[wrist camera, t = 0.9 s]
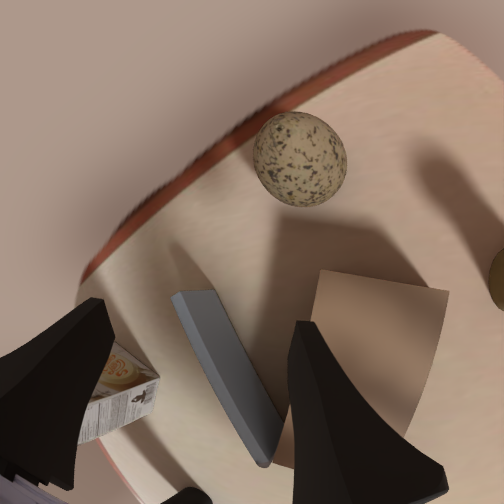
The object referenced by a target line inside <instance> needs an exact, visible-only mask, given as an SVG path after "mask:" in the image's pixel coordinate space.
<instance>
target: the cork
mask: <svg viewBox="0 0 504 504" xmlns="http://www.w3.org/2000/svg"><path fill="white" fill-rule="evenodd" d="M489 288H490V293H491V296H492V299H493V301H494V303H495V304H496V305H497V307H498V308H499V309H501V310H502V311H504V249H503V250H502V251H500V252H499V253H498V254H497V256H496V257H495V259H494V260H493V263H492V266H491V269H490V275H489Z"/></svg>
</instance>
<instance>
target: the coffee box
mask: <svg viewBox="0 0 504 504" xmlns="http://www.w3.org/2000/svg"><path fill="white" fill-rule="evenodd" d="M159 379H160V377H159V376H158V375H157V374H156V373H154V372H153V371H152V370H150V369H149V368H147V367H146V366H145V365H144V364H142V363H141V362H140V361H138V360H137V359H136V358H134V357H133V356H132V355H131V354H129V353H128V352H127V351H126V350H124V349H123V348H122V347H121V346H119V345H118V344H117V343H116V342H115V341H114V343H113V346H112V350H111V353H110V355H109V358H108V361H107V363H106V365H105V367H104V370H103V372H102V374H101V376H100V378H99V380H98V383H97V385H96V387H95V389H94V391H93V394H92V396H91V398H90V401H89V403H88V406H87V408H86V411H85V415H84V419H83V422H82V426H81V430H80V435H79V440H78V445H77V446H79V445H81V444H84V443H86V442H89V441H91V440H93V439H96V438H98V437H100V436H103V435H105V434H107V433H109V432H112V431H114V430H116V429H118V428H120V427H123V426H125V425H127V424H129V423H131V422H133V421H135V420H137V419H139V418H141V417H144V416H146V415H148V414H150V413H151V412H152V410H153V406H154V401H155V397H156V392H157V388H158V384H159Z"/></svg>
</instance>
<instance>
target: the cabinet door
mask: <svg viewBox="0 0 504 504" xmlns="http://www.w3.org/2000/svg"><path fill="white" fill-rule="evenodd" d="M170 298H171V301H172V303H173V305H174V308H175V310H176V312H177V315H178V317H179V319H180V322H181V324H182V326H183V328H184V330H185V333H186V335H187V337H188V339H189V341H190V343H191V346H192V348H193V350H194V352H195V354H196V356H197V358H198V360H199V362H200V364H201V366H202V368H203V370H204V372H205V374H206V376H207V378H208V380H209V382H210V384H211V386H212V388H213V390H214V392H215V394H216V395H217V397H218V399H219V401H220V403H221V405H222V406H223V408H224V410H225V412H226V414H227V415H228V417H229V419H230V421H231V423H232V424H233V426H234V428H235V429H236V431H237V433H238V435H239V436H240V438H241V440H242V441H243V443H244V445H245V446H246V448H247V450H248V451H249V453H250V454H251V456H252V458H253V459H254V461H255V462H256V464H257V465H258V466H259V467H261V468H267V467H269V465H270V464H271V462H272V461H273V459H274V456H275V453H276V450H277V447H278V443H279V440H280V437H281V434H282V430H283V427H284V423H283V421H282V420H281V418H280V416H279V414H278V412H277V411H276V409H275V407H274V405H273V403H272V402H271V400H270V398H269V396H268V394H267V392H266V390H265V389H264V387H263V385H262V383H261V381H260V379H259V377H258V376H257V374H256V372H255V370H254V368H253V366H252V364H251V362H250V360H249V358H248V356H247V354H246V352H245V350H244V349H243V347H242V345H241V343H240V341H239V339H238V337H237V335H236V333H235V331H234V329H233V327H232V325H231V323H230V321H229V319H228V316H227V314H226V312H225V310H224V308H223V306H222V304H221V302H220V300H219V298H218V296H217V294H216V291H215V290H196V291H180V292H178V293H177V294H175V295H173V296H172V297H170Z"/></svg>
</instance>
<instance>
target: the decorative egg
mask: <svg viewBox="0 0 504 504" xmlns="http://www.w3.org/2000/svg"><path fill="white" fill-rule="evenodd" d="M253 160H254V166H255V170H256V173H257V175H258V178H259V179H260V181H261V183H262V184H263V186H264V187H265V188H266V190H267V191H268V192H269V193H270V194H271V195H272V196H274V197H275V198H276V199H278V200H280V201H281V202H283V203H286V204H288V205H291V206H296V207H311V206H316V205H319V204H321V203H323V202H325V201H327V200H328V199H330V198H331V197H332V196H333V195H334V194H335V193H336V192H337V191H338V190H339V188H340V187H341V185H342V183H343V181H344V178H345V175H346V170H347V157H346V151H345V149H344V146H343V143H342V141H341V140H340V138H339V136H338V135H337V134H336V132H335V131H334V130H333V129H332V128H331V127H330V126H329V125H328V124H327V123H325V122H324V121H322V120H321V119H319V118H318V117H315V116H313V115H311V114H307V113H303V112H285V113H281V114H278V115H276V116H274V117H272V118H271V119H269V120H268V121H267V122H266V123H265V124H264V125H263V126H262V128H261V129H260V131H259V133H258V135H257V137H256V140H255V144H254V149H253Z"/></svg>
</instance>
